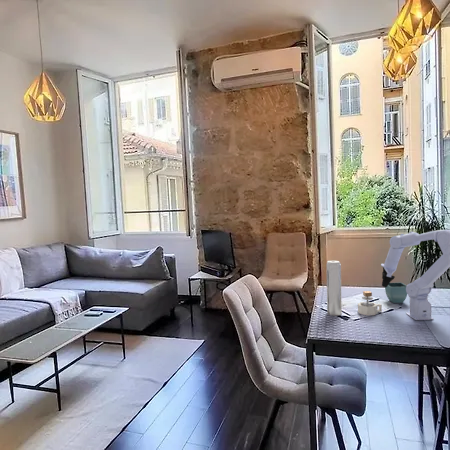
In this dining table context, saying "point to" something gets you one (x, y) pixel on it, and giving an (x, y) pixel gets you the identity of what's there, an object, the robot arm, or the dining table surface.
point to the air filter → (334, 288)
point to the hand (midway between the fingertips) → (384, 282)
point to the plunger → (367, 298)
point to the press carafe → (369, 309)
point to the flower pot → (396, 292)
